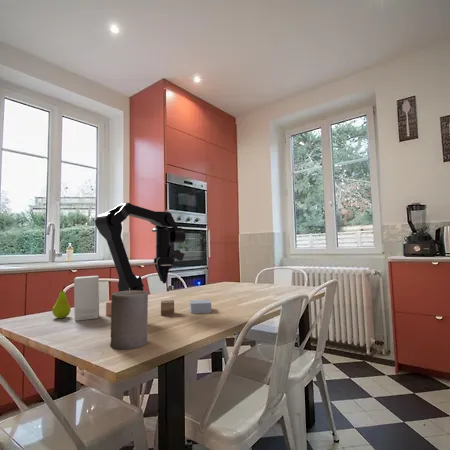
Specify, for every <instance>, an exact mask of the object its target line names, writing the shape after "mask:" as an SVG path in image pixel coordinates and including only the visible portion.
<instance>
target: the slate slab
mask: <svg viewBox="0 0 450 450" xmlns="http://www.w3.org/2000/svg"><path fill="white" fill-rule="evenodd" d="M189 310H190V313H191V314H203V313H204V314H205V313H206V314H207V313H212V302H211V301H210V299H197V300H196V299H194V300H189Z"/></svg>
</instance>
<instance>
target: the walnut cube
mask: <svg viewBox="0 0 450 450" xmlns="http://www.w3.org/2000/svg"><path fill="white" fill-rule="evenodd" d="M167 315H168V316H175V300H174V299H168V300H161V301H160V316H162V317H163V316H164V317H165V316H167Z"/></svg>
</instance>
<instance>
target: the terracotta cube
mask: <svg viewBox="0 0 450 450" xmlns="http://www.w3.org/2000/svg"><path fill="white" fill-rule="evenodd" d="M104 307H105V309H104V310H105V312H104V313H105V317H107V316H109V317H110V316H111V300H105V306H104Z"/></svg>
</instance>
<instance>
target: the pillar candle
mask: <svg viewBox="0 0 450 450" xmlns="http://www.w3.org/2000/svg"><path fill="white" fill-rule="evenodd" d="M118 291H119V290H118ZM118 291H115V292H112V293H111V300H110V301H111V315H110V344H109V347H110V348H112V349H115V350H132V349H137V348H140V347H144V346H145V345H148V344H147V343H148V327H149V326H148V323H149V322H148V320H149V319H148V317H149V316H148V311H149V309H148V307H149V306H148V304H149V303H148V301H149V292H148V291H146V290H144V291H137V290H132V291H130V288H129V291H119V292H118Z"/></svg>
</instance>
